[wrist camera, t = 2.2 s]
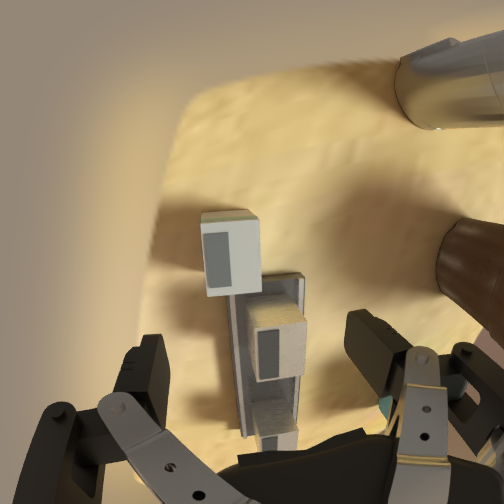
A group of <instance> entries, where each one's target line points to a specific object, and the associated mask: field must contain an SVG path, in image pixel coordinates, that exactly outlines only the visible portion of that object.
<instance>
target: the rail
mask: <svg viewBox="0 0 504 504" xmlns="http://www.w3.org/2000/svg"><path fill="white" fill-rule="evenodd" d="M261 278H262V292H254V293H244V294H234V295H226V300H227V311H228V322H229V333H230V343H231V353H232V363H233V372H234V381H235V390H236V399H237V408H238V416H239V424H240V432H241V437H243V438H244V439H245V438H247V436H252V435H255V440H256V444H257V448H258V452H263V451H269V450H279V451H293V450H296V448H297V440H298V431H299V430H298V427H297V425H296V423H297V413H298V402H299V389H300V376H301V375H304V367H305V353H306V337H307V320H306V319H305V317H304V297H305V277H304V276H303V275H302V274H301V273H291V274H282V275H272V276H262V277H261Z"/></svg>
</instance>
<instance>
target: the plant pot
mask: <svg viewBox="0 0 504 504" xmlns="http://www.w3.org/2000/svg"><path fill="white" fill-rule="evenodd" d="M436 279H437V282H438V283H439V285H440V290H441V291H442V293H443V294H445V295H446V296H447V297H449V298H450V299H451V300H453V301H454V302H455V303H456V304H457V305H459V306H460V307H461V308H462V309H463V310H465V311H466V312H467V313H468V314H469V315H471V316H472V317H473V318H474V319H475V320H476V321H477V322H478V323H480V324H481V325H482V326H483V327H484V328H485V329H486V330H487V331H489V333H490V336H491V337H492V338H493V339H494V340H495V341H496V342H497V343H498V344H499V345H500V346H501V347H502V348H503V349H504V225H502V224H497V223H491V222H486V221H481V220H475V219H468V218H467V219H462V220H460V221H458V222H457V223H456V225H455V227H454V228H453V229H452V230H451V231H450V232H448V233H447V235H446V236H445V238H444V241H443V243H442V245H441V248H440V251H439V255H438V259H437V266H436Z"/></svg>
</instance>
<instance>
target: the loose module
mask: <svg viewBox="0 0 504 504" xmlns="http://www.w3.org/2000/svg"><path fill="white" fill-rule="evenodd" d="M200 227H201V239H202V250H203V261H204V271H205V280H206V290H207V297H212V296H223V295H234V294H244V293H254V292H262V278H261V249H260V221H259V219H258V217H257V216H256V215H254V214H253V213H252V212H251V211H250V210H249V209H246V210H231V211H217V212H205V213H202V214H201V219H200Z"/></svg>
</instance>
